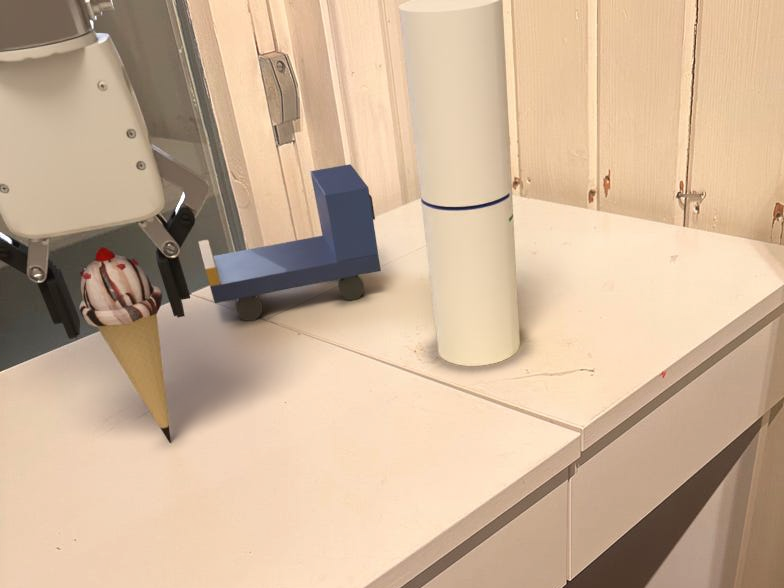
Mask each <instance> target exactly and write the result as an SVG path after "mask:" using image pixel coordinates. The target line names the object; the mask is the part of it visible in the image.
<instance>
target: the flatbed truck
mask: <svg viewBox="0 0 784 588" xmlns="http://www.w3.org/2000/svg"><path fill="white" fill-rule="evenodd" d="M310 176H311V177H310V178H311V182H312V187H313V188H312V189H313V192H314V193H313V194H314V199H315V203H316V209H317V214H318V220H319V224H320V230H321V235H319V236H313V237H308V238H302V239H297V240H292V241H291V240H290V241H286V242H281V243H275V244H269V245H265V246H260V247H254V248H248V249H244V250H238V251H233V252H226V253H223V254H217V255H214V254H213V251H212V247H211V244H210V240H209V239H203V240H199V241H198V246H199V251H200V254H201V258H202V263H203V266H204V269H205V274H206V278H207V281H208V284H209V288H210V291H211V295H212V299H213V302H214V304H219V303H225V302H229V301H234V300H235V309H236V312H237V314H238V316H239V317H240V318H241V319H243V320H245V321H255V320H257V319H259V318H260V317H261V315H262V313H263V304H262V302H261V300H260V298H259V297H258V296H260V295H264V294H265V295H266V294H269V293H275V292H280V291H286V290H290V289H291V290H292V289H296V288H302V287H306V286H310V285H316V284H321V283H326V282H331V281H336V280H338V284H337V286H338V291H339V293H340V295H341V296H342V297H343V298H344V299H346V300H349V301H356V300H357V299H359V298H361V296H362V295H363V293H364V291H365V284H364V281H363V279H362V278H361V277H360V276H362V275H367V274H368V275H369V274H371V273H377V272H381V270H382V269H381V262H380V257H379V249H378V242H377V235H376V229H375V224H374V223H375V222H374V221H375V220H376V215H375V209H374V203H373V197H372V195H371V194H370V189H369V186H368V185H367V184H366V182H365V181H364V179H363V178H362V177H361V176H360V174H359V173H358V172H357V171H356V169H355V168H354V167H353V165H352V164H351V163H350V164H345V165H344V164H343V165H337V166H333V167H332V166H331V167H326V168H320V169H315V170H310Z"/></svg>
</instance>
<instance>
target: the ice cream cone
mask: <svg viewBox="0 0 784 588" xmlns="http://www.w3.org/2000/svg"><path fill="white" fill-rule="evenodd" d="M79 274H80V276H81V280H80V291H81V297H82V300H81V301H80V304H79V306H78V308H79V309H78V310H79V312H80V314H81V316H82V318H83V319H84V321H85V322H86V323H87V324H88V325H89V326H91V327H95V328H97V329H98V331H99V332H100V334H101V335H102V337H103V339H104V341H105V342H106V344H107V345H108V346H109V349H110V350H111V352H112V353H113V355H114V356H115V358H116V360H117V361H118V363H119V364H120V366H121V367H122V369H123V371H124V372H125V374H126V375H127V377H128V380H130V382H131V383H132V385H133V387H134V388H135V390H136V392H137V393H138V394H139V397H140V398H141V400H142V401H143V403H144V404H145V406H146V408H147V410H148V411H149V412H150V414H151V415H152V417H153V419H154V421H155V422H156V423H157V426H159V428H160V430H161V432H162V433H163V435H164V436H165V438H166V440H167V441H168V442H169V444H171V443H172V440H171V434H170V433H171V432H170V431H171V430H170V422H169V414H168V405H167V396H166V387H165V386H166V385H165V378H164V369H163V361H162V360H163V359H162V351H161V343H160V342H161V341H160V333H159V324H158V316H157V315H158V312H159V310H160V308H161V305H162V302H163V292H162V290H161V289H160V287H159V286H157V285H155V284H154V283H151V281H150V279H149V277H148V275H147V274H146V272H145V271H144V269H143V268H142V267H140V265H139V263H138V261H137V260H136V259H135V258H132V259H130V258H128V257H125V256H123V255H118V254H115V253H114V252H113V251H112V250H111V249H109V248H107V247H102V246H101V247H100V248H99V249H98V250H97V251H96V254H95V258H94V259H93V260H92V261H91V262H90V263H89V264H87V266H86V268H85V269H83V270H82V271H80V272H79Z"/></svg>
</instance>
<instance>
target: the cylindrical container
mask: <svg viewBox="0 0 784 588" xmlns="http://www.w3.org/2000/svg"><path fill="white" fill-rule="evenodd" d="M503 2H504V1H503V0H408V1H405V2H403V3H401V4H399V6H398V13H399V20H400V22H399V23H400V28H401V38H402V39H401V40H402V48H403V57H404V64H405V65H404V67H405V73H406V82H407V91H408V100H409V108H410V118H411V126H412V134H413V142H414V153H415V161H416V168H417V177H418V178H417V179H418V186H419V193H420V202H421V213H422V220H423V228H424V229H423V230H424V238H425V247H426V256H427V264H428V265H427V266H428V273H429V281H430V290H431V298H432V299H431V300H432V306H433V307H432V308H433V316H434V326H435V335H436V342H437V351H438V354H439V356H440V358H442V359H443V360H444V361H445V362H447V363H450V364H454V365H457V366H464V367H479V366H488V365H493V364H497V363H501V362H502V361H505V360H508V359H509V358H511V357H512V356H514V355H515V354H516V353H517V352H518V351H519V349H520V346H521V341H520V340H521V339H520V338H521V337H520V320H519V319H520V317H519V303H518V301H519V299H518V281H517V280H518V279H517V260H516V243H515V241H516V240H515V223H514V220H515V219H514V203H513V183H512V181H513V180H512V165H511V164H512V163H511V141H510V124H509V123H510V122H509V121H510V120H509V102H508V82H507V65H506V64H507V63H506V44H505V42H506V41H505V24H504V4H503Z"/></svg>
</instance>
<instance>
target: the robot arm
mask: <svg viewBox="0 0 784 588" xmlns="http://www.w3.org/2000/svg"><path fill="white" fill-rule="evenodd" d="M113 11H115V8H114V4H113V0H0V216H1V218H2V220H3V222H4V224H5V226H6V227H7V229H8V230H9V231H10V233H12V234H13V235H15V236H17V237H20V238H24V239H28V244H27V245H26V244H24V243H22V242H20V241H18V240H17V239H15V238H14V237H12V236H11V235H7V234H4V233H3V232H0V261H1V262H3V263H5V264H6V265H8V266H9V267H11V268H12V269H13V268H14V269H15V270H17V271H19V272H21V273H23V274H24V275H26V276H27V278H28V279H29V280H30V281H31V282H33V283H35V284H37V286H38V289H39V291H40V294H41V296H42V298H43V301H44V303H45V306H46V308H47V311H48V313H49V316H50V318H51V321H52V323H53V324H54V325H59V324H60V325H61V324H62V325H63V328H64V330H65V333H66V335H67V337H68V339H69V340H71V339H75V338H78V336H80V334H81V333H80V332H81V331H80V330H81V319H80V316H79V313H78V311H77V308H76V306H75V304H74V301H73V298H72V296H71V293H70V290H69V288H68V285H67V283H66V280H65V278H64V274H63V272H62V270H61V268H60V267H59V268H58V267H57V264H54V262H53V260H52V259H50V247H51V245H50V244H51V238H54V237H59V236H65V235H66V236H67V235H73V234H77V233H84V232H89V231H95V230H100V229H105V228H110V227H116V226H122V225H127V224H133V223H136V224H137V225H138V226H139V228H140V229H141V230H142V231H143V232H144V233H145V235H146V236H147V237H148V238H149V239H150V240H151V242H152V243H153V244H154V245H155V247H156V250H155V256H156V262H157V267H158V270H159V272H160V276H161V280H162V282H163V286H164V289H165V292H166V295H167V298H168V302H169V305H170V308H171V311H172V314H173V317H177V318H183V317H185V316H186V315H185V311H184V305H183V301H184V300H188V299H191V294H190V290H189V287H188V284H187V280H186V277H185V273H184V270H183V267H182V264H181V260H180V257H179V256H180V255H179V254H180V252H181V247H182V246H183V244H184V243H185V241H186V239H187V237H188V236H189V234H190V233H191V230H192V228H193V227H194V226H195V223H196V219H197V217H198V216H199V214H200V212H201V211H202V209H203V207H204V205H205V203H206V201H207V199H208V197H209V195H210V192H211V189H210V184H209V181H208V180H207V179H206V178H205V177H204V176H202V175H201V174H199V173H198V172H196V171H195V170H193V169H191V168H190V167H188V166H187V165H185V164H184V163H182V162H180V161H179V160H177V159H176V158H174V157H172V156H171V155H170V154H168V153H166V152H165V151H163V150H162V149H160V148H159V147H157V146H155V145H154V144H153V142H152V140H151V136H150V133H149V130H148V128H147V127H148V126H147V124H146V121H145V119H144V115H143V113H142V109H141V107H140V104H139V101H138V98H137V96H136V93H135V90H134V87H133V85H132V82H131V79H130V77H129V74H128V72H127V70H126V68H125V65H124V63H123V61H122V58H121V56H120V54H119V52H118V50H117V47H116V45H115V44H114V41H113V39H112V38H111V36H110V34H109V33H104V32H96V30H95V28H94V22H96V21H97V17H100V16H103V13H106V12H113ZM163 179H164V180H166V181H168V183H171V184H172V185H174V186H175V187H177V188H179V189H180V190H181V191H182V195H181V196H180V200H179V202H178V204H177V205H176V206H175V208H174V209H173V211H172V212H171V215H170V216H169V218H168V220H167V219H165V217H164V216H163V215H162V213H161V212H162V211H163V210H164V207H165V205H166V199H165V193H164V188H165V187H164V180H163Z"/></svg>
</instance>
